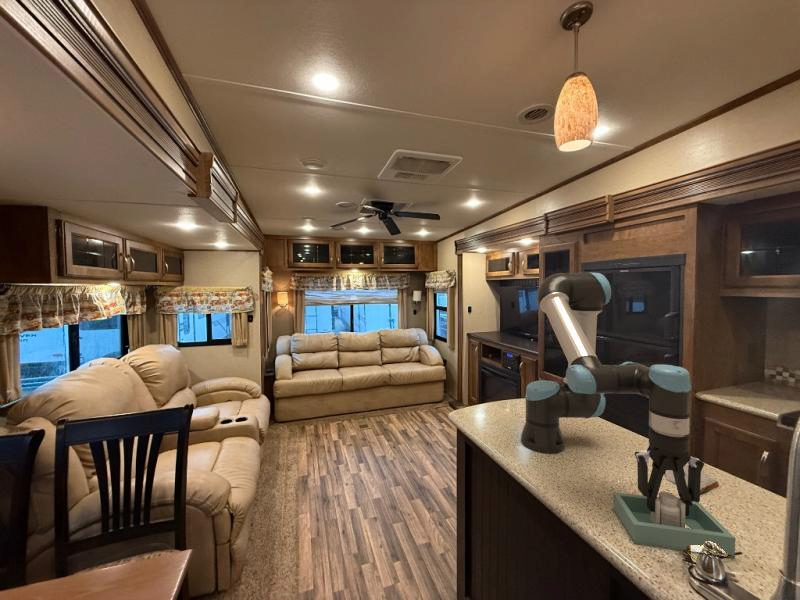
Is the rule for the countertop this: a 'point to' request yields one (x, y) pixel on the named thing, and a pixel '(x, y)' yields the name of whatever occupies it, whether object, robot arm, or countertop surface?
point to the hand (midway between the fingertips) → (667, 525)
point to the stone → (705, 483)
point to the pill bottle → (669, 509)
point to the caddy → (670, 537)
